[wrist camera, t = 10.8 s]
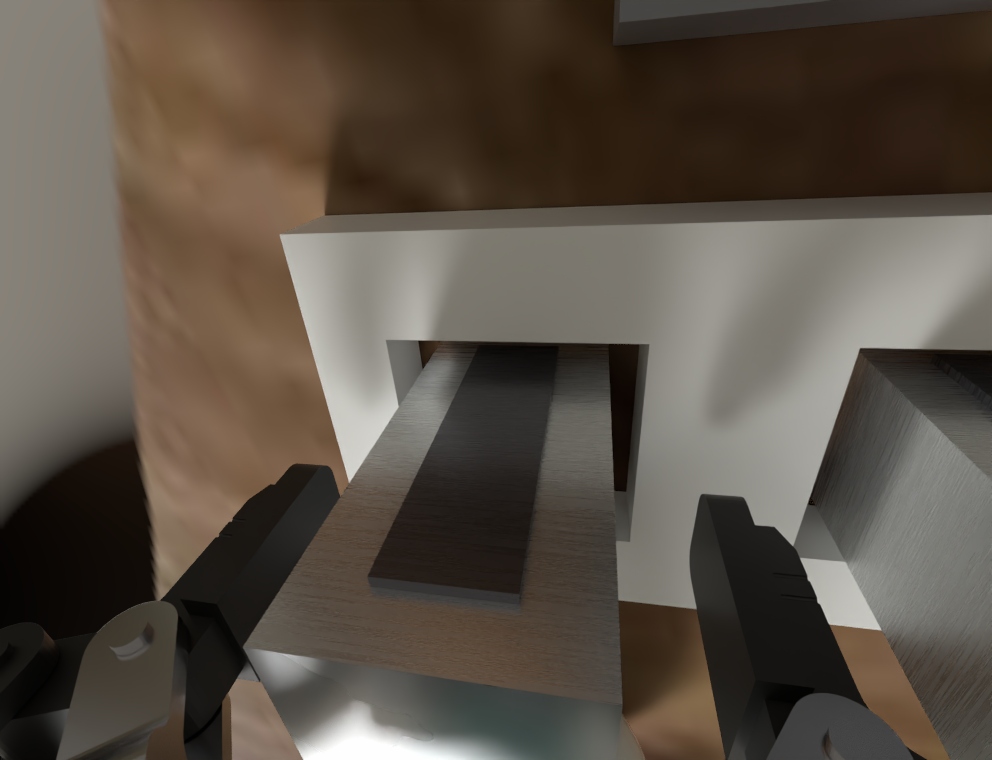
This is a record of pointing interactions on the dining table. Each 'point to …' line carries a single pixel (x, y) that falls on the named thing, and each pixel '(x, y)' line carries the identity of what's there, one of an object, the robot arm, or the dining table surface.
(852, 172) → the dining table surface
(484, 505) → the block
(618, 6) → the tray
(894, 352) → the block
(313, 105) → the dining table surface
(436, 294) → the white slotted plate
